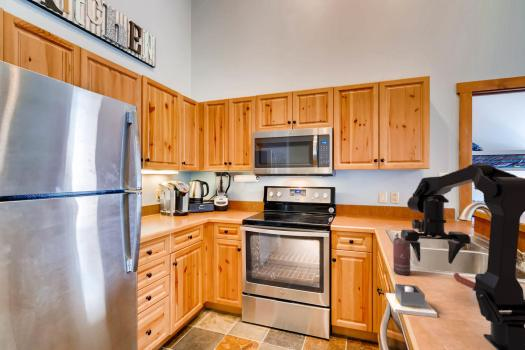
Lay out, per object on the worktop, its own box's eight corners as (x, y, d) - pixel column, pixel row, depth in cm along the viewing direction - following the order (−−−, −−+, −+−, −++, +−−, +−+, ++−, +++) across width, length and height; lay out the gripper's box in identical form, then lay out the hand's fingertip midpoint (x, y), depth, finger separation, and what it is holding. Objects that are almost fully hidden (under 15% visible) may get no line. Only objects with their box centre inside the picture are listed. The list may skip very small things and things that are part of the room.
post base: (437, 317, 72) (437, 297, 72) (394, 312, 75) (394, 293, 75) (422, 299, 83) (422, 282, 83) (385, 295, 86) (385, 279, 86)
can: (410, 272, 107) (410, 238, 107) (409, 277, 102) (409, 241, 102) (394, 269, 110) (394, 236, 110) (392, 274, 105) (392, 239, 105)
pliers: (470, 299, 84) (470, 292, 84) (452, 277, 102) (452, 271, 102) (516, 307, 79) (516, 298, 79) (488, 282, 98) (488, 275, 98)
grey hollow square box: (424, 308, 75) (424, 294, 75) (401, 305, 77) (401, 292, 77) (417, 298, 81) (416, 285, 81) (395, 296, 83) (395, 283, 83)
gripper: (453, 212, 91) (454, 256, 90) (396, 211, 95) (396, 253, 95) (471, 217, 80) (472, 267, 80) (405, 215, 84) (406, 263, 84)
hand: (434, 262), depth 85 cm, fingers open, 9 cm apart
